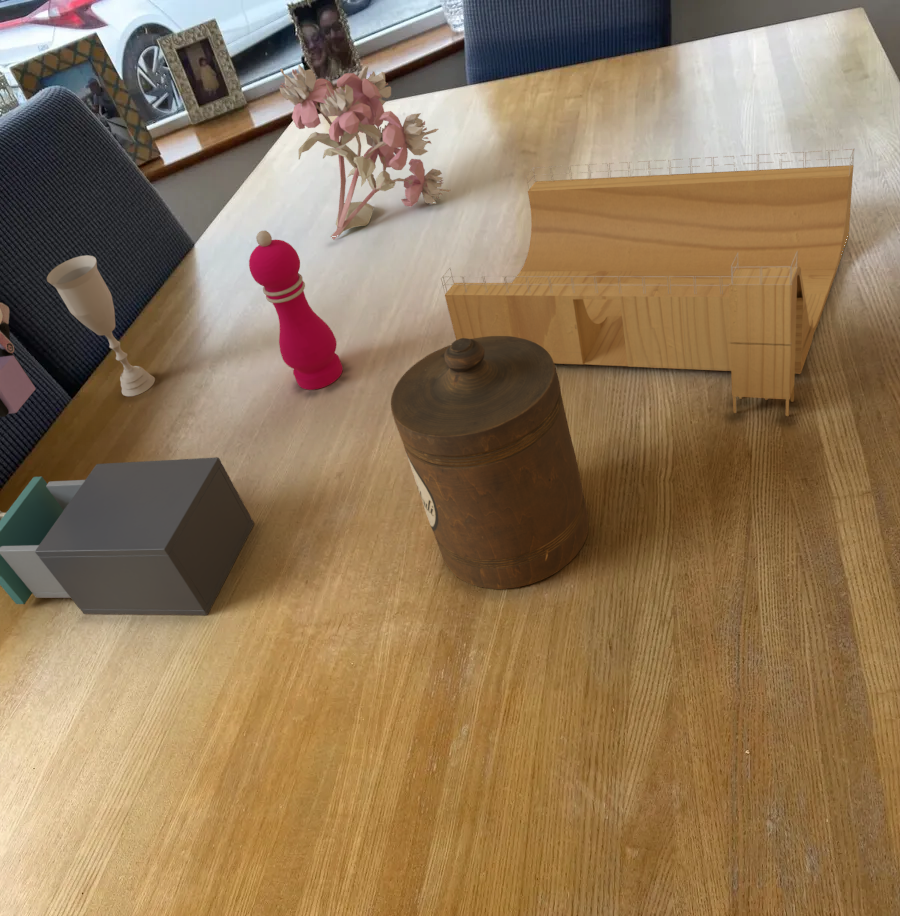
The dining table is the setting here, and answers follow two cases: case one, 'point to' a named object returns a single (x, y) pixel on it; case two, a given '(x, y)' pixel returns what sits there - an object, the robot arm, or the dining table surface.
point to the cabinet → (148, 538)
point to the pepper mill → (295, 314)
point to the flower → (354, 115)
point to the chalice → (96, 312)
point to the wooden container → (493, 459)
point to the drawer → (32, 539)
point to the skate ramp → (674, 272)
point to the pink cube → (13, 384)
